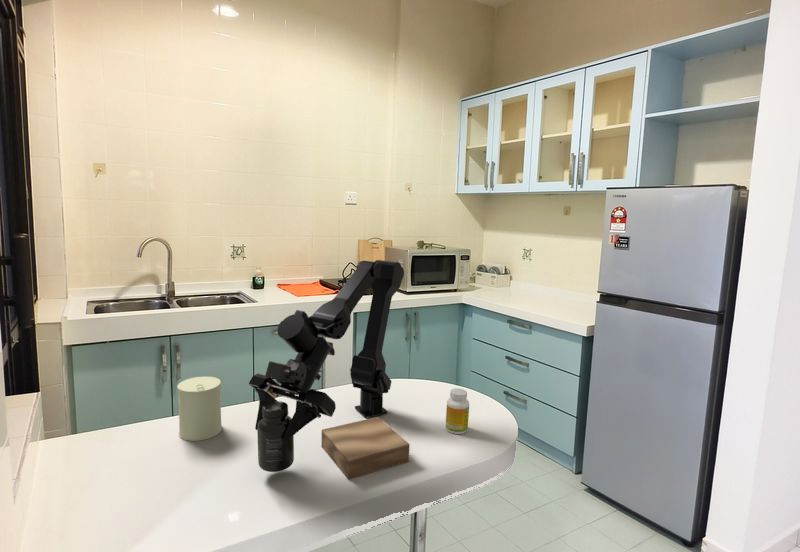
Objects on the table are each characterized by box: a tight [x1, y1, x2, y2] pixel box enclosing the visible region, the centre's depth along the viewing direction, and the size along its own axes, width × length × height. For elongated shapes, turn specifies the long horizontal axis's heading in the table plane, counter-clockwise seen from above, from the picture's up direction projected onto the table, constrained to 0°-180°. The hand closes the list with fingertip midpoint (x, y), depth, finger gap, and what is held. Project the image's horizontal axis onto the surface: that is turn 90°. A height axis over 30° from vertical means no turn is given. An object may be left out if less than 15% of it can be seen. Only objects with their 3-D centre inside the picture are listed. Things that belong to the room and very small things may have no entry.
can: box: [176, 376, 223, 442], centre depth 109 cm, size 9×9×12 cm
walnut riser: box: [321, 416, 411, 480], centre depth 103 cm, size 14×14×4 cm
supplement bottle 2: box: [445, 387, 470, 435], centre depth 115 cm, size 5×5×10 cm
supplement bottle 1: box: [256, 400, 295, 473], centre depth 93 cm, size 7×7×12 cm
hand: (270, 435), depth 92 cm, fingers closed on supplement bottle 1, 7 cm apart
